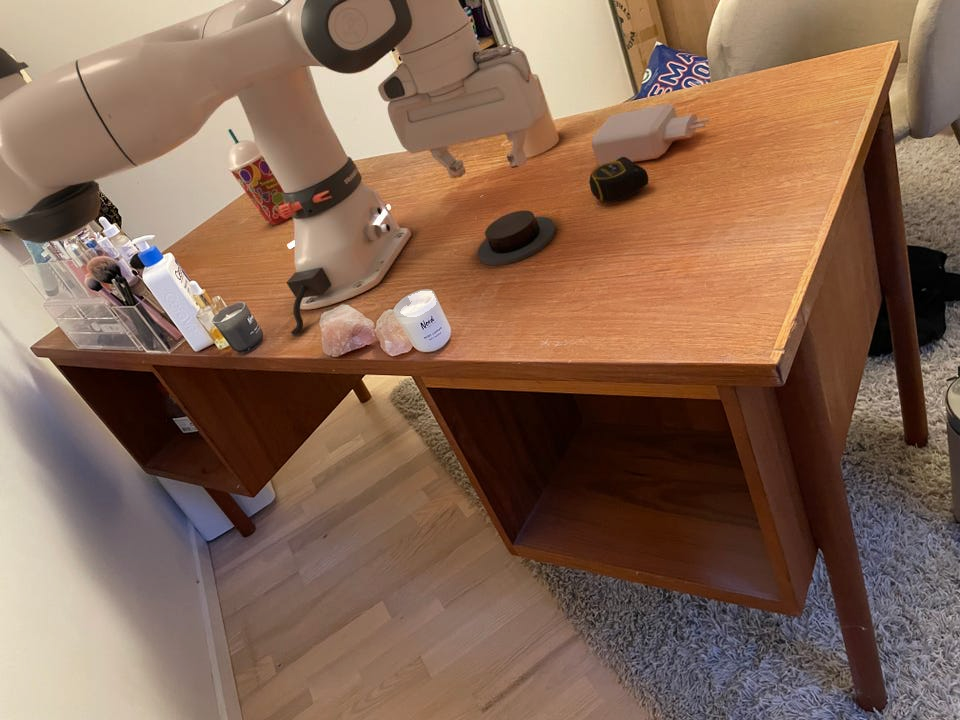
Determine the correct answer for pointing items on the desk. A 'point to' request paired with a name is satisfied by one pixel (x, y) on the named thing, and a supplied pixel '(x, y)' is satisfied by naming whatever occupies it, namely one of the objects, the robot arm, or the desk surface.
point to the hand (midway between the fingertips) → (488, 170)
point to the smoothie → (256, 179)
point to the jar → (540, 132)
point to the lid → (512, 231)
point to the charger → (642, 133)
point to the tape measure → (617, 180)
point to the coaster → (540, 242)
